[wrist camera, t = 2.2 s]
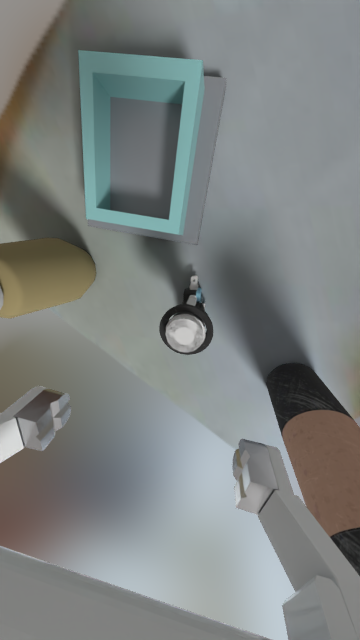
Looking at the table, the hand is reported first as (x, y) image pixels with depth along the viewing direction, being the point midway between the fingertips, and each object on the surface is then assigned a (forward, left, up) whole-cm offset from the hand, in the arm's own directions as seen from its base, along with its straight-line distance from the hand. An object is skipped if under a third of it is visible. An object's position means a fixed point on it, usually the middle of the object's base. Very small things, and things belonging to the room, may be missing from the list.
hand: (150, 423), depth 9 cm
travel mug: (-17, +10, -20) cm, 28 cm away
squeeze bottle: (+17, -1, -20) cm, 27 cm away
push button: (0, 0, -20) cm, 20 cm away
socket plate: (+8, -14, -20) cm, 25 cm away
